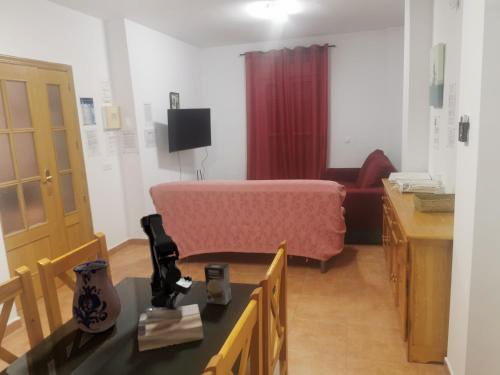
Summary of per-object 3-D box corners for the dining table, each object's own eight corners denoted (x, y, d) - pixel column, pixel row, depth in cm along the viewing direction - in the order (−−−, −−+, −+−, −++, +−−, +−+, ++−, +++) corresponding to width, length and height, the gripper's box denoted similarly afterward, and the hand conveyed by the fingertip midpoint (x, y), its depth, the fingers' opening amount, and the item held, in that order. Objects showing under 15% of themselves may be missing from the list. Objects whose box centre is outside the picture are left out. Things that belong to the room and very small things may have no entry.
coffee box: (206, 303, 164) (203, 267, 161) (212, 296, 170) (209, 262, 167) (226, 305, 161) (223, 268, 158) (232, 298, 167) (229, 263, 164)
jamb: (141, 325, 149) (140, 313, 148) (198, 315, 154) (197, 303, 153) (140, 336, 141) (139, 323, 140) (200, 325, 146) (199, 312, 145)
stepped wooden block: (140, 337, 141) (138, 315, 139) (200, 325, 145) (198, 304, 144) (139, 351, 131) (136, 328, 130) (203, 338, 136) (201, 316, 135)
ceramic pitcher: (69, 342, 141) (58, 277, 137) (84, 315, 161) (76, 258, 157) (118, 335, 143) (110, 271, 139) (127, 309, 164) (120, 253, 160)
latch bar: (145, 318, 143) (144, 311, 142) (148, 314, 146) (147, 307, 145) (181, 317, 141) (181, 310, 141) (184, 313, 144) (183, 306, 144)
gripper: (176, 285, 131) (181, 327, 134) (197, 263, 149) (202, 300, 152) (147, 284, 134) (153, 324, 137) (171, 262, 152) (176, 298, 155)
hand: (172, 311), depth 145 cm, fingers closed
